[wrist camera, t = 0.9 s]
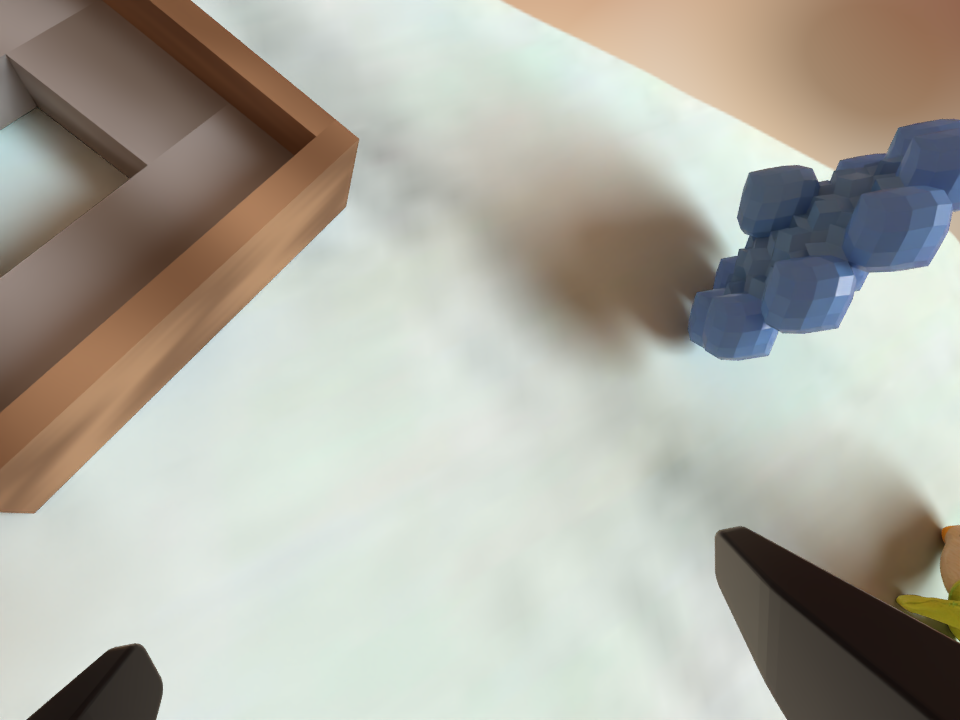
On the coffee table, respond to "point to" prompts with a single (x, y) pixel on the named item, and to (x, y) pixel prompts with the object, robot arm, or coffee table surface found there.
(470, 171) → the coffee table surface
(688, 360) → the coffee table surface
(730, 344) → the grapes
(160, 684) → the robot arm
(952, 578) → the bird rattle
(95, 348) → the socket box
